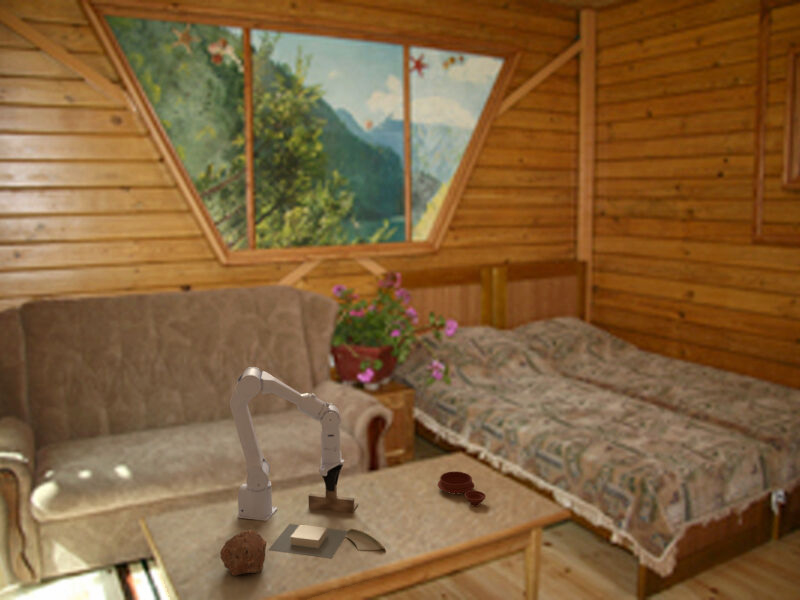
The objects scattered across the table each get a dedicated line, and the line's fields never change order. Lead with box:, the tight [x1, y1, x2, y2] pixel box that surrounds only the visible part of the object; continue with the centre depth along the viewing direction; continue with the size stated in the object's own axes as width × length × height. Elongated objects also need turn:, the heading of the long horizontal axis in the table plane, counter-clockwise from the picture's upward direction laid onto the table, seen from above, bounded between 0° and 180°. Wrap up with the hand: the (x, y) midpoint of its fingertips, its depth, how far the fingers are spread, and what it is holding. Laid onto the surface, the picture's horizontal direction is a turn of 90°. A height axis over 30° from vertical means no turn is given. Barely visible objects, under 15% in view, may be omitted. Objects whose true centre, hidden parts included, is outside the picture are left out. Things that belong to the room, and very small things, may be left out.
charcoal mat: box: [268, 523, 348, 559], centre depth 197 cm, size 18×15×1 cm
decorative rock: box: [219, 529, 267, 576], centre depth 182 cm, size 13×11×10 cm
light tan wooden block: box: [291, 524, 328, 549], centre depth 197 cm, size 8×2×7 cm
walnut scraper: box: [307, 483, 359, 514], centre depth 217 cm, size 14×6×8 cm, turn 76°
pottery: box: [437, 471, 487, 507], centre depth 225 cm, size 12×20×4 cm, turn 28°
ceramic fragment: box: [345, 528, 386, 552], centre depth 195 cm, size 14×5×4 cm, turn 50°
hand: (331, 488), depth 214 cm, fingers closed on walnut scraper
